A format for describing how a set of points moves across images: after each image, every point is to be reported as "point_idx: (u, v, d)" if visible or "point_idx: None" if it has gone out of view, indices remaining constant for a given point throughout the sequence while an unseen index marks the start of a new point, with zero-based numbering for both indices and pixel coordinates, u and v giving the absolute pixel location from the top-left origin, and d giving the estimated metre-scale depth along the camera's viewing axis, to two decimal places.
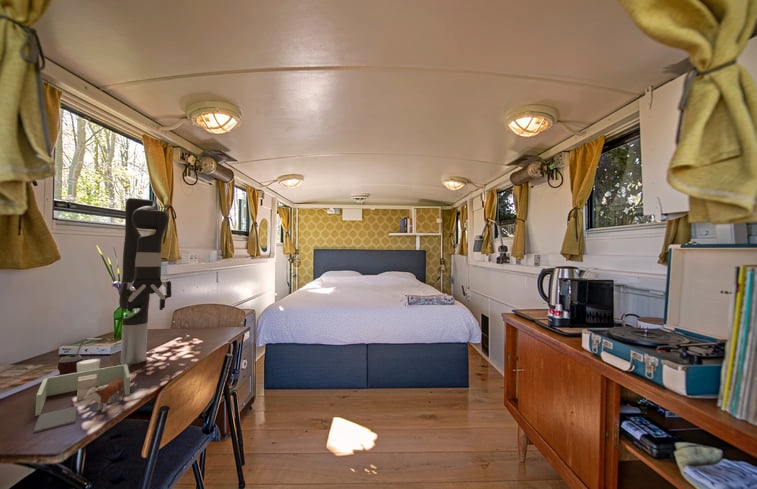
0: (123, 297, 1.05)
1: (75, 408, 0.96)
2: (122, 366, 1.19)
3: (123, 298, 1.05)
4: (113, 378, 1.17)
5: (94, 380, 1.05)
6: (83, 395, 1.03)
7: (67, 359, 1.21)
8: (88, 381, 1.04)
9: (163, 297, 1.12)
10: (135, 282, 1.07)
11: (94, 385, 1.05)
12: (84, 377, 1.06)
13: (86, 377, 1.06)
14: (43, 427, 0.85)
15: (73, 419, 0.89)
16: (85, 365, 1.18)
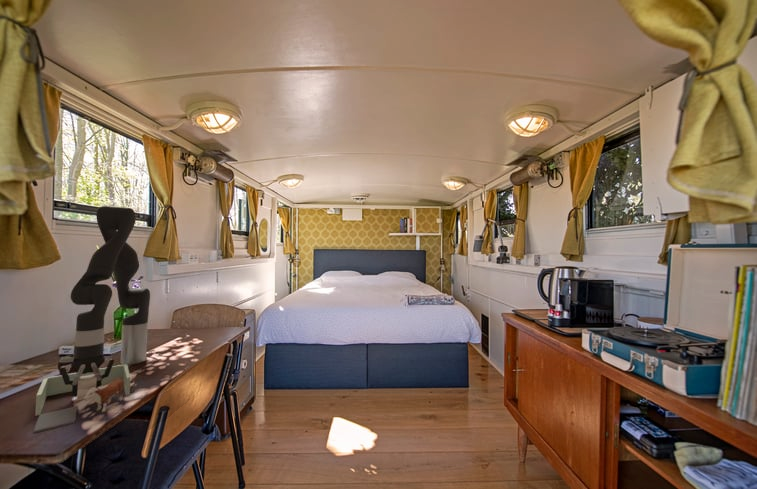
0: (67, 381, 1.02)
1: (75, 408, 0.96)
2: (122, 366, 1.19)
3: (67, 382, 1.02)
4: (113, 378, 1.17)
5: (94, 380, 1.05)
6: (83, 395, 1.03)
7: (67, 359, 1.21)
8: (88, 381, 1.04)
9: (99, 378, 1.07)
10: (73, 363, 1.03)
11: (94, 385, 1.05)
12: (84, 377, 1.06)
13: (86, 376, 1.06)
14: (43, 427, 0.85)
15: (73, 419, 0.89)
16: None
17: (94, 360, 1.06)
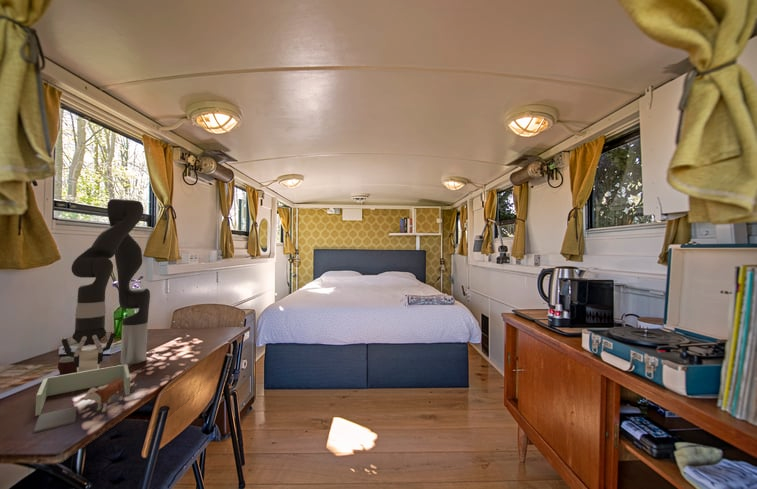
0: (68, 352, 1.02)
1: (75, 408, 0.96)
2: (122, 366, 1.19)
3: (68, 353, 1.02)
4: (113, 378, 1.17)
5: (96, 352, 1.06)
6: (85, 366, 1.04)
7: (67, 359, 1.21)
8: (90, 353, 1.05)
9: (100, 350, 1.07)
10: (74, 335, 1.03)
11: (96, 357, 1.06)
12: (86, 349, 1.06)
13: (87, 349, 1.07)
14: (43, 427, 0.85)
15: (73, 419, 0.89)
16: None
17: (95, 332, 1.07)
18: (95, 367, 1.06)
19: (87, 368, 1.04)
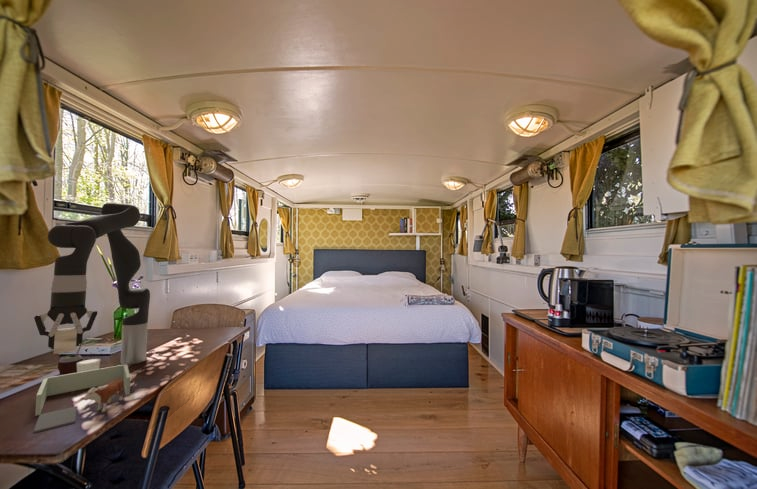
0: (42, 331, 0.89)
1: (75, 408, 0.96)
2: (122, 366, 1.19)
3: (42, 333, 0.89)
4: (113, 378, 1.17)
5: (74, 332, 0.93)
6: (61, 348, 0.91)
7: (67, 359, 1.21)
8: (67, 333, 0.92)
9: (80, 331, 0.95)
10: (49, 311, 0.91)
11: (74, 338, 0.93)
12: (63, 329, 0.94)
13: (65, 329, 0.94)
14: (43, 427, 0.85)
15: (73, 419, 0.89)
16: (85, 365, 1.18)
17: (74, 310, 0.94)
18: (73, 349, 0.93)
19: (64, 350, 0.91)
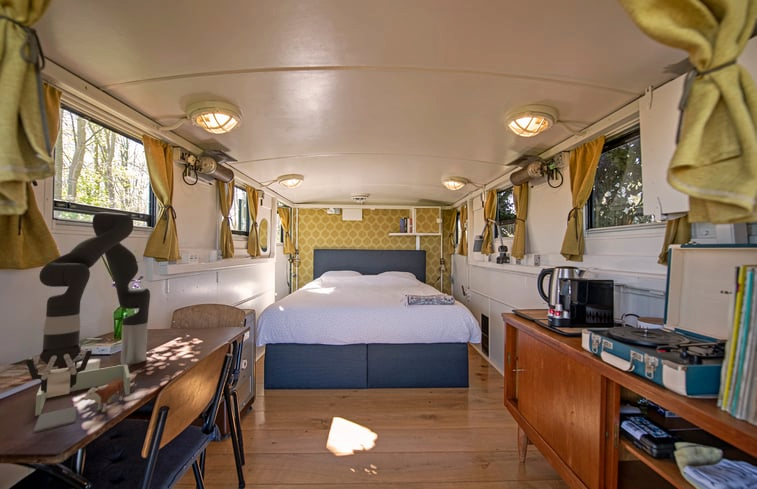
0: (34, 375, 0.87)
1: (75, 408, 0.96)
2: (122, 366, 1.19)
3: (34, 377, 0.87)
4: (113, 378, 1.17)
5: (67, 374, 0.90)
6: (54, 391, 0.88)
7: None
8: (60, 375, 0.89)
9: (73, 372, 0.92)
10: (42, 354, 0.88)
11: (67, 380, 0.90)
12: (56, 370, 0.91)
13: (58, 370, 0.91)
14: (43, 427, 0.85)
15: (73, 419, 0.89)
16: None
17: (68, 351, 0.91)
18: (67, 392, 0.90)
19: (57, 393, 0.89)
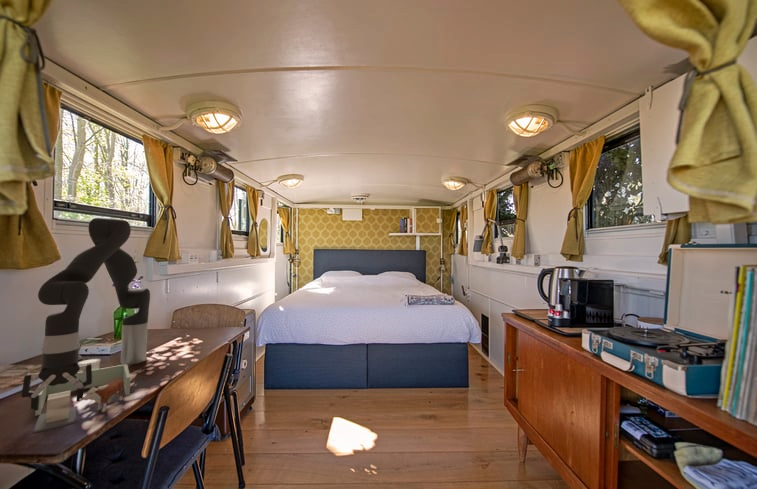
0: (24, 393, 0.85)
1: (75, 408, 0.96)
2: (122, 366, 1.19)
3: (24, 395, 0.85)
4: (113, 378, 1.17)
5: (67, 398, 0.90)
6: (54, 416, 0.88)
7: None
8: (60, 400, 0.89)
9: (80, 386, 0.93)
10: (41, 372, 0.88)
11: (67, 404, 0.90)
12: (55, 395, 0.91)
13: (57, 394, 0.91)
14: (43, 427, 0.85)
15: (73, 419, 0.89)
16: None
17: (66, 369, 0.91)
18: (66, 416, 0.90)
19: (56, 418, 0.89)
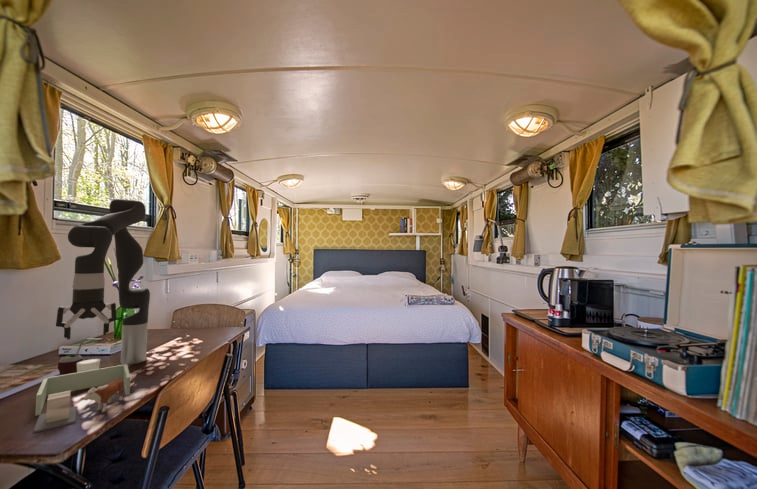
0: (58, 323, 0.96)
1: (75, 408, 0.96)
2: (122, 366, 1.19)
3: (58, 324, 0.96)
4: (113, 378, 1.17)
5: (67, 398, 0.90)
6: (54, 416, 0.88)
7: (67, 359, 1.21)
8: (60, 400, 0.89)
9: (106, 321, 1.03)
10: (73, 306, 0.98)
11: (67, 404, 0.90)
12: (55, 395, 0.91)
13: (57, 394, 0.91)
14: (43, 427, 0.85)
15: (73, 419, 0.89)
16: (85, 365, 1.18)
17: (94, 305, 1.01)
18: (66, 416, 0.90)
19: (56, 418, 0.89)
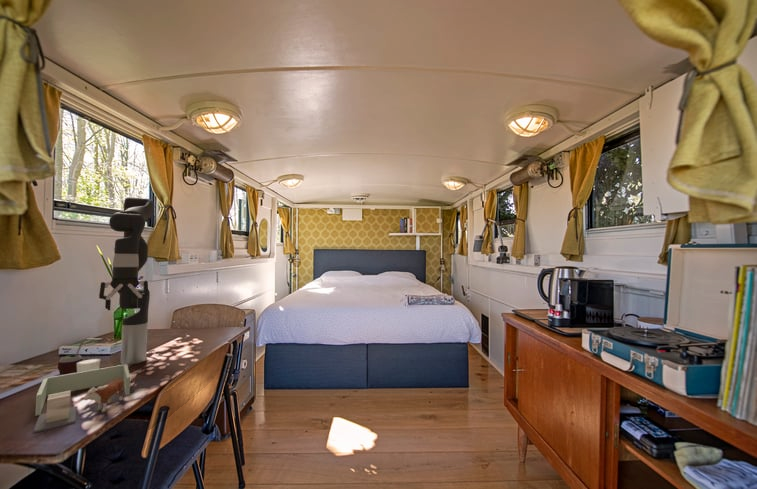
0: (101, 296, 1.11)
1: (75, 408, 0.96)
2: (122, 366, 1.19)
3: (101, 296, 1.11)
4: (113, 378, 1.17)
5: (67, 398, 0.90)
6: (54, 416, 0.88)
7: (67, 359, 1.21)
8: (60, 400, 0.89)
9: (140, 296, 1.19)
10: (113, 281, 1.14)
11: (67, 404, 0.90)
12: (55, 395, 0.91)
13: (57, 394, 0.91)
14: (43, 427, 0.85)
15: (73, 419, 0.89)
16: (85, 365, 1.18)
17: (130, 282, 1.17)
18: (66, 416, 0.90)
19: (56, 418, 0.89)
